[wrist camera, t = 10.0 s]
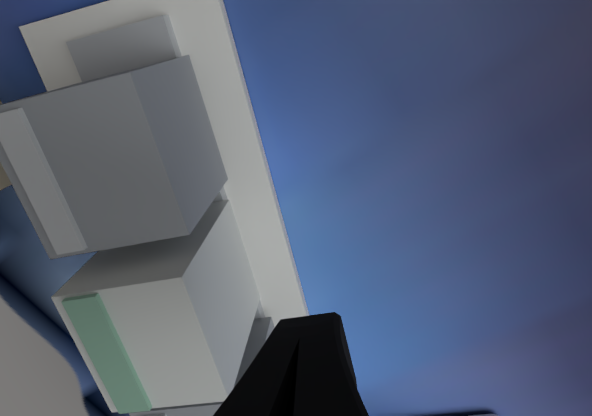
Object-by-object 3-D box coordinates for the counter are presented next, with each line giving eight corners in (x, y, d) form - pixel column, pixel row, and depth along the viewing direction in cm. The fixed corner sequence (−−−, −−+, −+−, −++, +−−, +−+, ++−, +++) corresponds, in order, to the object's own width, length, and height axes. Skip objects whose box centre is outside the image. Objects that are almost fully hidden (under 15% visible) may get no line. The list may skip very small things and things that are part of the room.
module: (260, 297, 21) (228, 405, 15) (170, 310, 22) (109, 416, 16) (229, 199, 19) (179, 281, 13) (132, 217, 20) (47, 300, 14)
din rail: (335, 409, 25) (331, 533, 19) (200, 422, 26) (158, 540, 20) (214, -29, 17) (143, -48, 11) (28, 26, 18) (-123, 34, 12)
